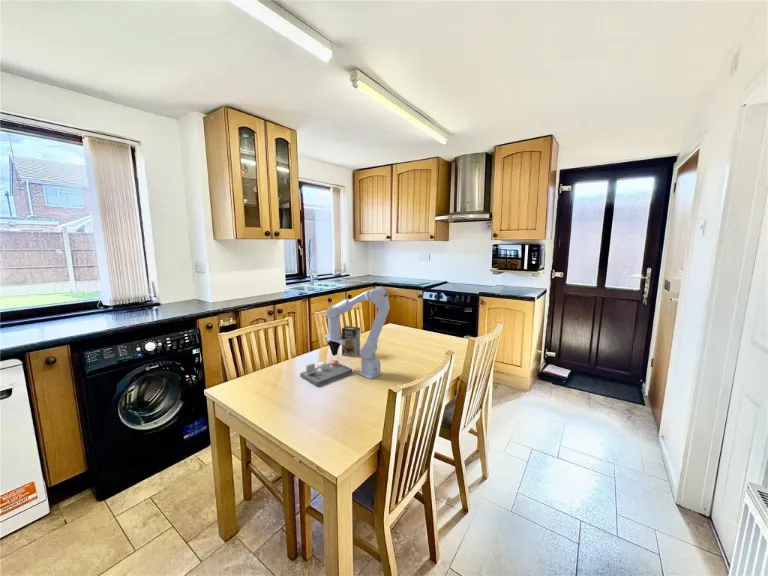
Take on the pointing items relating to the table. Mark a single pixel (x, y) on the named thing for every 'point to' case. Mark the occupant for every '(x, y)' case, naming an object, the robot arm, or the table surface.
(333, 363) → the red button
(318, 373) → the control panel
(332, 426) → the table surface
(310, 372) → the grey square block
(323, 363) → the white button
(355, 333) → the coffee box
